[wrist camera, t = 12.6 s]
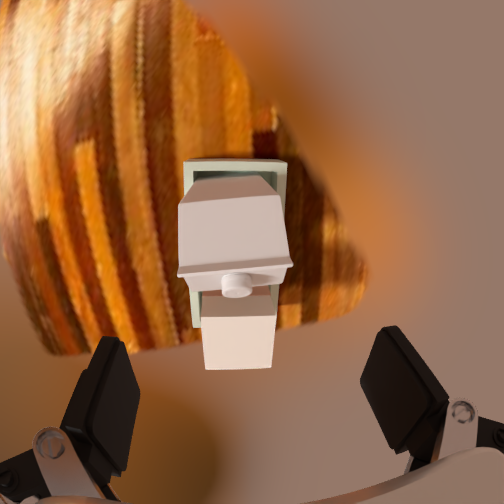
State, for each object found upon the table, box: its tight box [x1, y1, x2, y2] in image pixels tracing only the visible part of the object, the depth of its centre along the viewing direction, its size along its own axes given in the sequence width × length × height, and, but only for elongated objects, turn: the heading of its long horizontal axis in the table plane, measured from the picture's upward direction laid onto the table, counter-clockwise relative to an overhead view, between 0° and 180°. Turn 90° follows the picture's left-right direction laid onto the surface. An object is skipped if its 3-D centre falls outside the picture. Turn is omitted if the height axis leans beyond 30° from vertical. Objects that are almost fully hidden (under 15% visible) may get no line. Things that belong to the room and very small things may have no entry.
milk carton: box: [177, 172, 293, 298], centre depth 26 cm, size 7×7×19 cm
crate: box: [184, 158, 287, 328], centre depth 35 cm, size 21×11×5 cm, turn 178°
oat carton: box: [201, 285, 276, 370], centre depth 32 cm, size 7×7×14 cm
